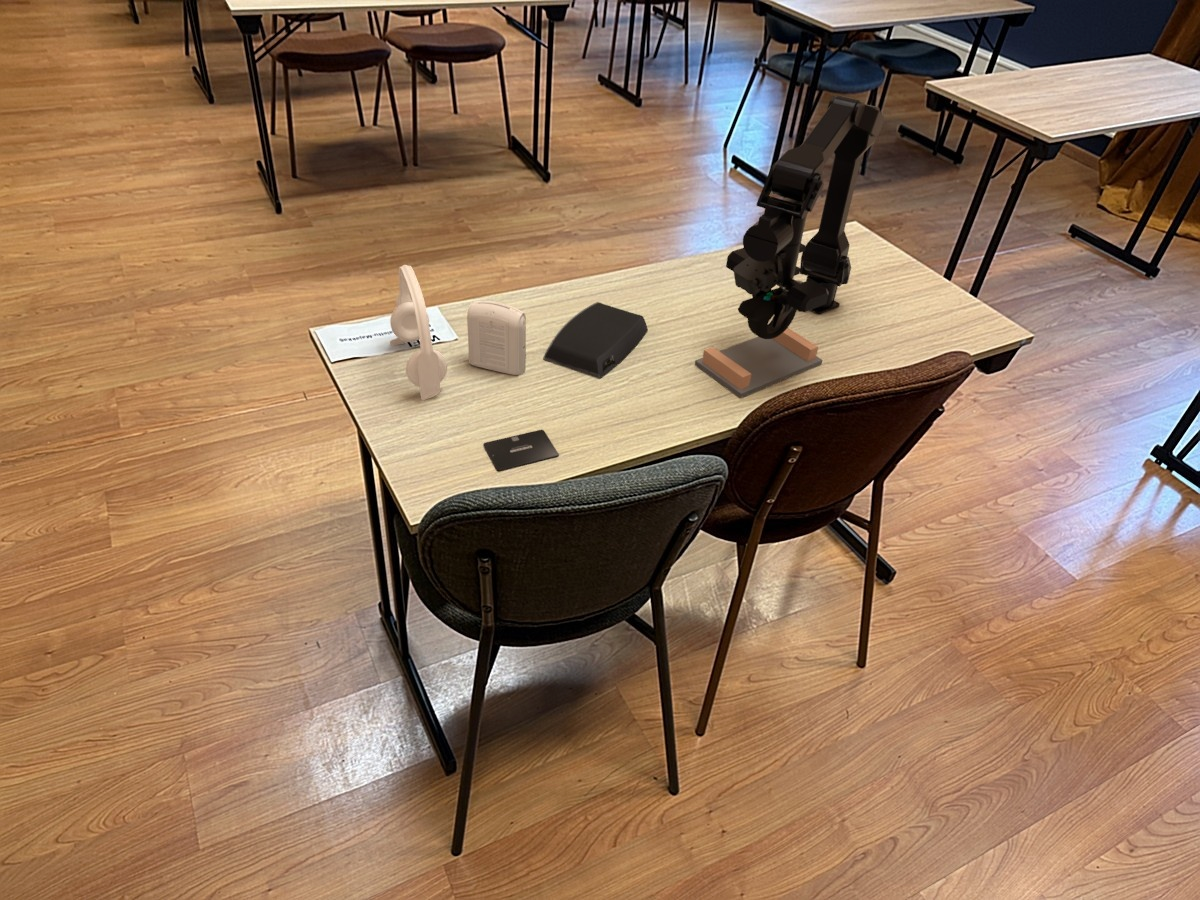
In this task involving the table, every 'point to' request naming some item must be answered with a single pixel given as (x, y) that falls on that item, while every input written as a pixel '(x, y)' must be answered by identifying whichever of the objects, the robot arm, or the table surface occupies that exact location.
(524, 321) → the photo printer
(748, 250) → the robot arm
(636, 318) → the external hard drive
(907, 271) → the table surface
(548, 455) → the solid state drive
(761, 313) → the controller
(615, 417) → the table surface
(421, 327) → the headset
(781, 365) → the dock
